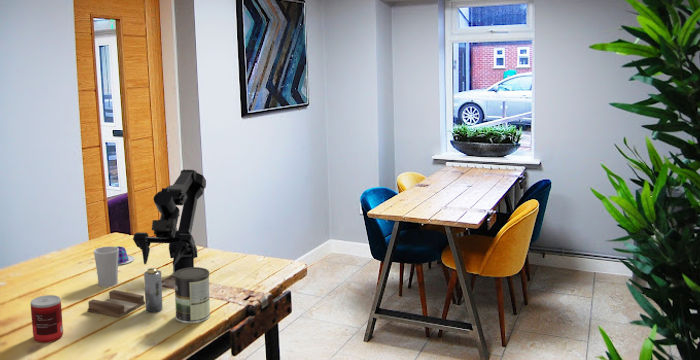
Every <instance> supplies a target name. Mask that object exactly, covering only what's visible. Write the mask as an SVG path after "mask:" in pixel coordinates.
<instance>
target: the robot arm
mask: <svg viewBox="0 0 700 360" xmlns="http://www.w3.org/2000/svg"><path fill="white" fill-rule="evenodd" d="M206 186H207V179H206V178H205V177H204V175H202V174H201V173H198V172H197V170H194V169H182V170H180V174H179V176H178V177H177V178H176V180H175V181H174V183H173V184H172V185H168V186H166V187H163V188H161V190H160V191H158V192H156V194H155V195H154V196H153V202H154V205H155V206H156V208H157V210H158V213H160V216H159V219H153V220H152V223H151V224H152V225H151V231H153V234H154V235H155V236H149V234H148V232H140V231H139V232H137V231H136V233H134V234H133V238H132V240H133V243H135V245H136V247H137V248H139V249H140V250H141V251H142V260H143V264H144V266H145V265H147V262H148V259H149V256H150V252H151V251H150V250H151V248H150V246H151V244H168V251H169V252H168V253H169V256H170V259H172V272H173V274H174V273H175V272H176V271H178V270H180V269H183V268H190V267H195V261H194V260H195V259H197V258H198V256H199V255H198V248H197V245H196V241H195V239H194V237H193V235H192V231H193V226H194V222H195V221H194V219H195V214H196V209H197V204H198V200H199V199H200V198H201V197H202V196H203V195H204V191H205V189H206ZM178 206H182V208H181V210H180V208H179V207H178ZM180 212H181V213H180ZM180 214H181V215H180ZM179 217H180V219H179ZM178 221H179V226H178ZM177 226H178V228H177Z"/></svg>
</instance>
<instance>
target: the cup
mask: <svg viewBox="0 0 700 360" xmlns="http://www.w3.org/2000/svg"><path fill="white" fill-rule="evenodd" d="M117 247H118V246H101V247H97V248H95V249H94V250H93V257H94V260H95V267H96V276H97V283H98V286H99V287H102V288H103V287H104V288H106V287H108V288H109V287H113V286H116V285H118V284H119V279H118V277H119V276H118V274H119V265H118V253H119V249H118V248H117Z"/></svg>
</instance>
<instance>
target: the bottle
mask: <svg viewBox="0 0 700 360" xmlns="http://www.w3.org/2000/svg"><path fill="white" fill-rule="evenodd" d="M143 276H144V301H145V311H146V312H147V313H149V314H150V313H151V314H152V313H153V314H154V313H159V312H161V311H163V309H164V308H163V307H164V306H163V285H162V271H160V270H159V269H158V268H156V267H151V268H147V270H146V271H145V272H143Z"/></svg>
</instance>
